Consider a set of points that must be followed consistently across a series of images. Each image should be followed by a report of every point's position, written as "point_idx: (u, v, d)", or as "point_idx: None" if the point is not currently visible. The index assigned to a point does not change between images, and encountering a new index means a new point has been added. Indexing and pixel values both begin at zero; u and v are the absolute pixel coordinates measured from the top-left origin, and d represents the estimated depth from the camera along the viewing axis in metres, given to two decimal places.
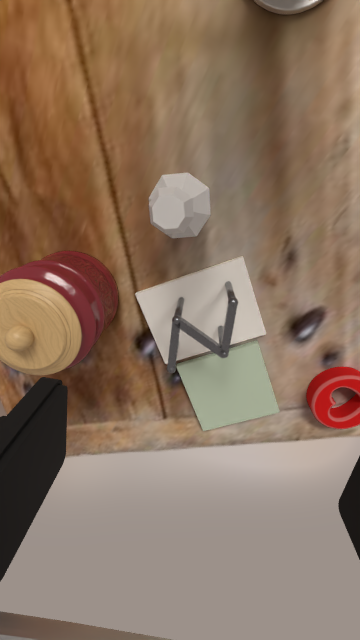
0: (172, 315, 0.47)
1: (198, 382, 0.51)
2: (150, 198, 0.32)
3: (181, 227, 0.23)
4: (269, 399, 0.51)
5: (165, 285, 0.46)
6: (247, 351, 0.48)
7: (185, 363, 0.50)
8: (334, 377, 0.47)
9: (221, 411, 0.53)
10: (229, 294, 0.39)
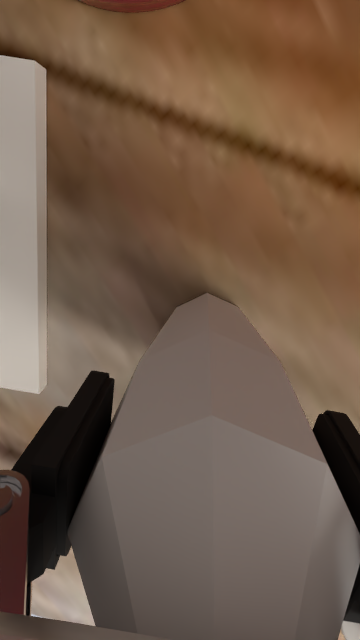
0: None
1: None
2: (323, 483, 0.06)
3: None
4: None
5: (31, 183, 0.15)
6: None
7: None
8: None
9: None
10: None
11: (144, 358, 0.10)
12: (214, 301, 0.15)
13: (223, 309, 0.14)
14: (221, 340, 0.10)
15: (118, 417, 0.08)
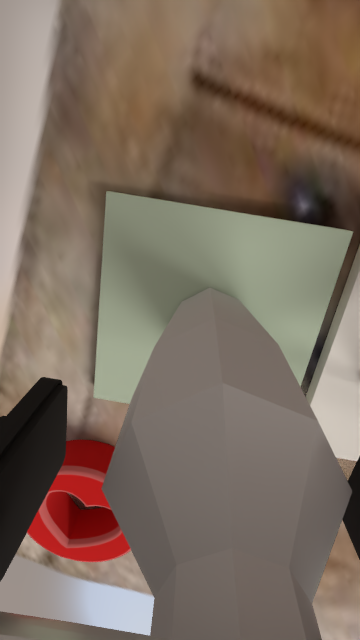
0: None
1: (269, 263, 0.18)
2: (315, 435, 0.07)
3: None
4: None
5: None
6: None
7: None
8: None
9: (153, 277, 0.18)
10: None
11: (158, 345, 0.12)
12: (217, 294, 0.17)
13: (225, 301, 0.16)
14: (225, 326, 0.11)
15: (141, 392, 0.09)
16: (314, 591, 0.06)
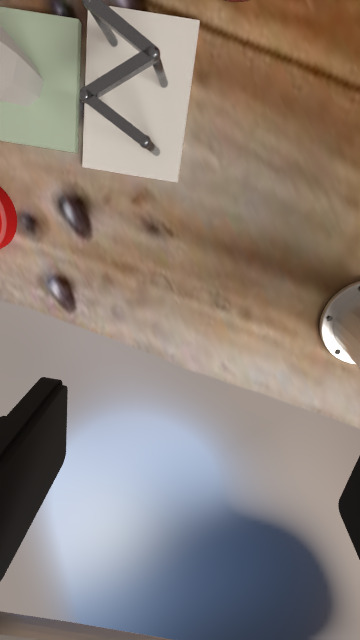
0: None
1: (43, 40, 0.36)
2: None
3: None
4: None
5: (190, 72, 0.36)
6: (67, 134, 0.39)
7: (78, 37, 0.35)
8: (6, 218, 0.42)
9: None
10: (152, 143, 0.33)
11: None
12: None
13: None
14: None
15: None
16: None
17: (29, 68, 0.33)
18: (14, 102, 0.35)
